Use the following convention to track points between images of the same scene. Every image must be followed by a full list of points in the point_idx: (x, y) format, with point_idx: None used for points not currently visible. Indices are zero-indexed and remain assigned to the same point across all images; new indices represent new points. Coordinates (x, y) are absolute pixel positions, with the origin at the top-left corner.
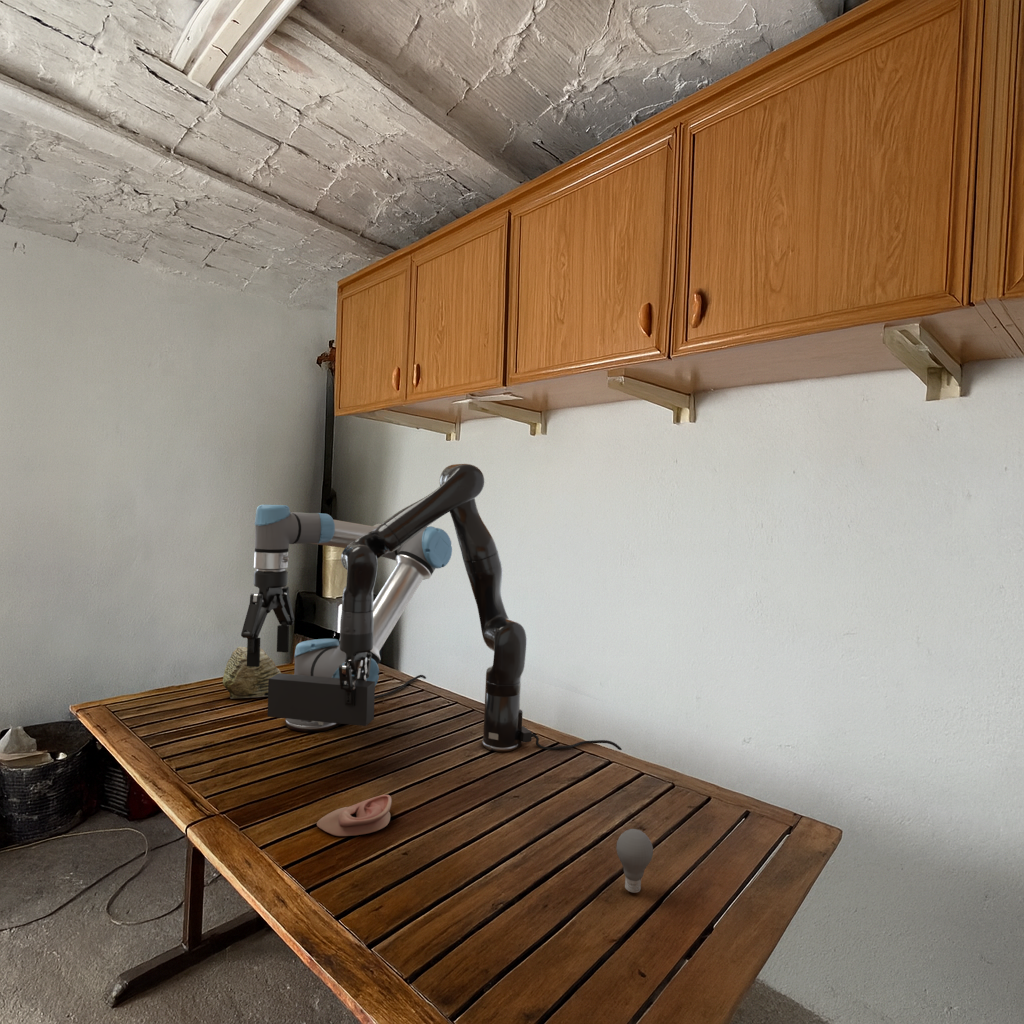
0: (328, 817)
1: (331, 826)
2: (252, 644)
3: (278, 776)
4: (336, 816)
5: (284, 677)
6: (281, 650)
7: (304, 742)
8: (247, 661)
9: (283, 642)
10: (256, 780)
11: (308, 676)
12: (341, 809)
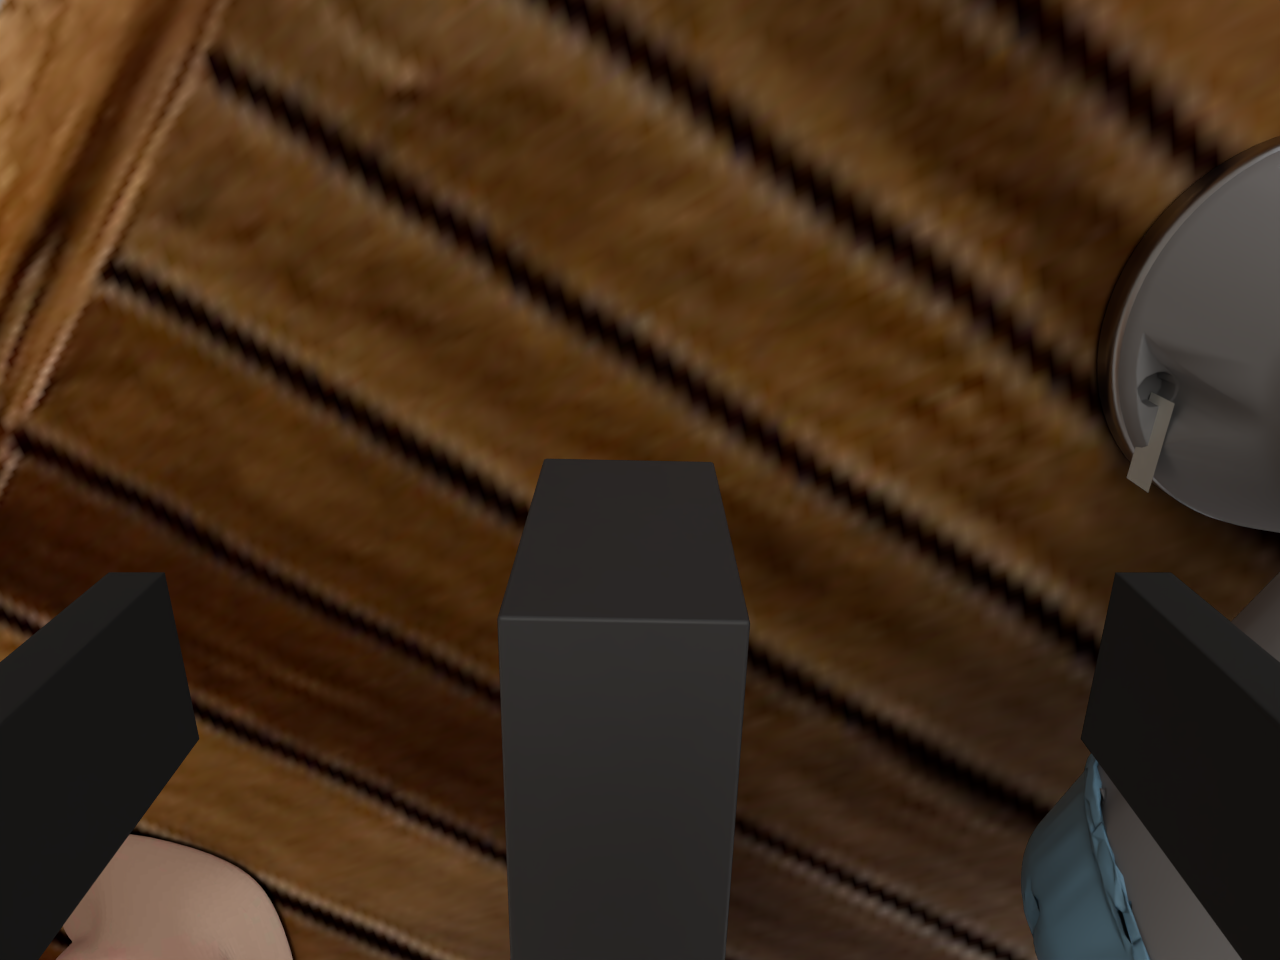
0: (108, 889)
1: (77, 906)
2: None
3: (455, 497)
4: (99, 928)
5: (597, 751)
6: (1111, 669)
7: (931, 421)
8: (67, 621)
9: (1190, 799)
10: (376, 415)
11: (700, 938)
12: (171, 916)
